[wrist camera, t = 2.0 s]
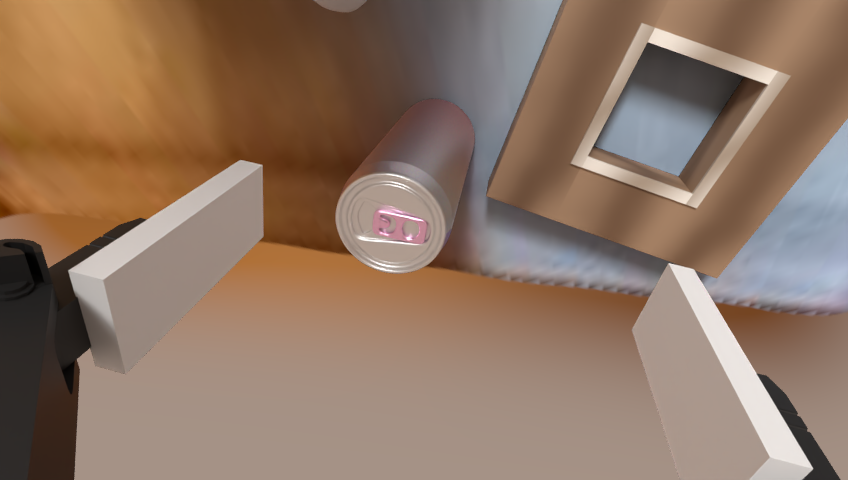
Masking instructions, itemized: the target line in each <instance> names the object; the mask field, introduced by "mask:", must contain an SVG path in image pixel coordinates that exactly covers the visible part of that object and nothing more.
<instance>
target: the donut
mask: <svg viewBox="0 0 848 480" xmlns="http://www.w3.org/2000/svg"><path fill="white" fill-rule="evenodd" d="M313 1H315V2H316V3H318V4H319V5H320V6H322V7H324V8H326V9H329V10H332V11H338V12H352V11H354V10H357V9H358V8H359V7H360V6H362V5H363V4H364V3H365V2H366V1H367V0H313Z"/></svg>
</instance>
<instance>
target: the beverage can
mask: <svg viewBox="0 0 848 480" xmlns="http://www.w3.org/2000/svg"><path fill="white" fill-rule="evenodd" d="M474 144H475V134H474V129H473V126H472V123H471V121H470V119H469V118H468V116H467V115H466V114H465V113H464V111H463V110H462V109H460V108H459V107H458V106H456V105H455V104H453V103H451V102H449V101H446V100H441V99H427V100H423V101H420V102H418V103H416V104H414V105H413V106H411V107H410V108H409V109H408V110H407V111H406V112H405V113H404V114H403V115H402V117H401V118H400V119H399V120H398V121H397V123H396V124H395V125H394V126H393V127H392V128H391V130H390V131H389V132H388V133H387V134H386V135H385V137H384V138H383V139H382V140H381V141H380V143H379V144H378V145H377V146H376V147H375V148H374V150H373V151H372V152H371V153H370V154H369V155H368V157H367V158H366V159H365V160H364V161H363V162H362V164H361V165H360V166H359V167H358V168H357V170H356V171H355V172H354V173H353V174H352V175H351V177H350V178H349V179H348V180H347V182H346V183H345V185H344V187H343V189H342V192H341V195H340V198H339V200H338V203H337V207H336V214H335V219H336V226H337V230H338V233H339V236H340V238H341V240H342V242H343V244H344V245H345V247H346V248H347V249H348V250H349V252H350V253H351V254H352V255H353V256H354V257H355V258H357V259H358V260H359V261H361V262H362V263H364V264H365V265H367V266H369V267H371V268H373V269H376V270H379V271H382V272H387V273H396V274H398V273H409V272H413V271H416V270H419V269H420V268H423V267H425V266H426V265H428V264H429V263H430V262H431V261H433V260H434V259H435V257H436V256H437V255H438V254H439V252H440V250H441V249H442V248H443V247H444V245H445V244H446V242H447V241H448V238H449V236H450V233H451V230H452V226H453V222H454V219H455V215H456V211H457V208H458V204H459V200H460V197H461V193H462V189H463V186H464V182H465V178H466V175H467V171H468V167H469V164H470V160H471V156H472V153H473V149H474Z"/></svg>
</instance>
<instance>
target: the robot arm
mask: <svg viewBox="0 0 848 480" xmlns="http://www.w3.org/2000/svg"><path fill="white" fill-rule="evenodd" d="M262 238H263V165H260V164H256V163H252V162H247V161H243V160H239V161H238V162H236V163H235V164H233V165H232V166H230V167H228V168H227V169H225V170H224V171H222V172H221V173H219V174H218V175H216V176H214V177H213V178H211V179H210V180H208V181H207V182H205V183H204V184H202V185H200V186H199V187H197V188H196V189H194V190H193V191H191V192H190V193H188V194H186V195H185V196H183V197H182V198H180V199H179V200H177V201H176V202H174V203H172V204H171V205H169V206H168V207H166V208H165V209H163V210H162V211H160V212H158V213H157V214H155V215H154V216H152V217H151V218H149V219H148V220H147V219H143V218H139V219H136V220H133V221H130V222H127V223H124V224H121V225H119V226H117V227H115V228H114V229H112V230H110V231H109V232H107V233H105V234H104V235H103V237H99V238H97V239H96V240H94V241H92V242H91V243H90V245H86V246H84V247H83V248H81V249H79V250H78V251H76V252H74V253H73V254H71V255H70V256H68V257H66V258H65V259H63V260H61V261H60V262H58V263H56V264H55V265H53V266H51V267H50V268H48V267H47V264H46V260H45V257H44V254H43V251H42V248H41V246H40V245H39V244H37V243H35V242H34V241H30V240H24V239H4V240H0V480H74V472H75V452H76V432H77V431H76V430H77V412H78V391H79V373H80V369H79V366H78V363H77V358H79V357H80V356H81V355H82V354H83V353H84V352H86V351H87V350H88V349H89V348H90V349H91V352H92V356H93V359H94V363H95V366H98V367H101V368H105V369H108V370H112V371H115V372H119V373H123V374H127V373H128V372H129V371H130V370H131V369H132V368H133V367H134V366H135V365H136V364H137V363H138V362H139V361H140V360H141V358H143V357H144V356H145V355H146V354H147V353H148V352H149V351H150V350H151V349H152V348H153V347H154V346H155V344H157V342H159V341H160V340H161V339H162V338H163V337H164V336H165V335H166V334H167V333H168V332H169V331H170V330H171V329H172V328H173V327H174V326H175V325H176V324H177V323H178V321H180V320H181V318H183V317H184V316H185V315H186V314H187V313H188V312H189V311H190V310H191V309H192V308H193V307H194V306H195V305H196V303H197V302H199V300H201V299H202V298H203V297H204V296H205V295H206V293H208V292H209V291H210V290H211V288H213V287H214V286H215V285H216V284H217V283H218V282H219V281H220V280H221V279H222V278H223V277H224V275H225V274H227V273H228V272H229V270H231V269H232V268H233V267H234V266H235V265H236V264H237V263H238V262H239V261H240V260H241V259H242V258H243V257H244V256H245V254H247V253H248V252H249V251H250V250H251V249H252V248H253V247H254V246H255V245H256V244H257V243H258V242H259V241H260V240H261V239H262ZM632 332H633V335H634V338H635V341H636V344H637V348H638V351H639V354H640V357H641V360H642V363H643V366H644V370H645V372H646V376H647V379H648V382H649V385H650V388H651V392H652V395H653V398H654V401H655V404H656V407H657V410H658V413H659V417H660V420H661V423H662V426H663V429H664V432H665V435H666V438H667V442H668V445H669V448H670V451H671V454H672V457H673V461H674V463H675V467H676V470H677V473H678V476H679V479H680V480H840V478H839V477H838V475H837V474H836V472H835V470H834V469H833V467H832V466H831V464H830V463H829V461H828V459H827V458H826V456H825V455H824V453H823V452H822V450H821V449H820V447H819V446H818V444H817V442H816V441H815V440H814V438H813V436H812V435H811V433H810V432H807V427H806V425H805V424H804V422H803V420H802V419H801V418H800V417H799V416H797V414H798V413H797V411H796V409H795V408H794V406H793V405H792V403H791V402H790V400H789V399H788V397H787V395H786V394H785V393H784V392H783V391H782V390H781V389H780V388H779V387H778V386H777V385H776V384H775V383H774V382H773V381H772V380H770V379H769V378H768V377H767V376H765V375H761V374H757V373H756V372H755V371H754V369H753V367H752V366H751V364H750V362H749V361H748V359H747V357H746V356H745V354H744V352H743V351H742V349H741V348H740V346H739V344H738V342H737V341H736V339H735V337H734V336H733V334H732V332H731V331H730V329H729V327H728V326H727V324H726V322H725V321H724V319H723V317H722V316H721V314H720V312H719V311H718V309H717V307H716V306H715V304H714V302H713V301H712V299H711V297H710V295H709V294H708V292H707V290H706V289H705V287H704V285H703V284H702V282H701V280H700V279H699V277H698V275H697V274H696V272H695V270H694V269H691V268H687V267H683V266H679V265H674V264H670V263H668V265H667V267H666V268H665V270H664V272H663V274H662V276H661V277H660V279H659V281H658V283H657V285H656V287H655V288H654V290H653V292H652V294H651V296H650V298H649V299H648V301H647V303H646V305H645V307H644V308H643V310H642V312H641V314H640V316H639V318H638V319H637V321H636V323H635V325H634V327H633V328H632Z"/></svg>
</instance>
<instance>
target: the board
mask: <svg viewBox="0 0 848 480" xmlns="http://www.w3.org/2000/svg"><path fill="white" fill-rule="evenodd" d="M647 42H649V43H652V44H655V45H657V46H660V47H663V48H666V49H669V50H672V51H674V52H677V53H680V54H683V55H686V56H689V57H691V58H694V59H697V60H700V61H703V62H705V63H708V64H711V65H714V66H717V67H720V68H722V69H725V70H728V71H731V72H734V73H737V74H739V75H742V76H744V78H743V79H742V81H741V82H740V84H739V86H738V87H737V89H736V90H735V92H734V93H733V95H732V96H731V98H730V99H729V101H728V102H727V104H726V105H725V107H724V108H723V110H722V111H721V113H720V114H719V116H718V117H717V119H716V121H715V122H714V124H713V125H712V127H711V128H710V130H709V131H708V133H707V134H706V136H705V137H704V139H703V140H702V142H701V143H700V145H699V146H698V148H697V149H696V151H695V152H694V154H693V155H692V157H691V159H690V160H689V162H688V163H687V165H686V166H685V168H684V169H683V171H682V172H681V174H680V175H679V177H678V176H675V175H673V174H670V173H667V172H664V171H661V170H659V169H656V168H653V167H650V166H647V165H644V164H642V163H639V162H636V161H633V160H630V159H628V158H625V157H622V156H619V155H616V154H614V153H611V152H608V151H605V150H602V149H599V148H597V147H594V146H593V145H594V143H595V141H596V140H597V138H598V136H599V134H600V132H601V130H602V128H603V126H604V124H605V122H606V120H607V119H608V117H609V115H610V113H611V111H612V109H613V107H614V105H615V103H616V101H617V100H618V98H619V96H620V94H621V92H622V90H623V88H624V86H625V84H626V82H627V80H628V79H629V77H630V75H631V73H632V71H633V69H634V67H635V65H636V63H637V61H638V59H639V58H640V56H641V54H642V52H643V50H644V48H645V46H646V44H647ZM847 118H848V0H563V1H562V4H561V6H560V8H559V11H558V13H557V16H556V18H555V21H554V23H553V25H552V28H551V30H550V33H549V35H548V38H547V40H546V42H545V45H544V47H543V50H542V52H541V55H540V57H539V59H538V62H537V64H536V67H535V69H534V72H533V74H532V76H531V79H530V81H529V84H528V86H527V89H526V91H525V93H524V96H523V98H522V101H521V103H520V106H519V108H518V110H517V113H516V115H515V118H514V120H513V123H512V125H511V127H510V130H509V132H508V135H507V137H506V140H505V142H504V145H503V147H502V149H501V152H500V154H499V157H498V159H497V162H496V164H495V166H494V169H493V171H492V174H491V176H490V179H489V182H488V188H487V194H486V196H487V197H490V198H493V199H496V200H499V201H501V202H504V203H507V204H510V205H513V206H515V207H518V208H521V209H524V210H527V211H529V212H532V213H535V214H538V215H541V216H543V217H546V218H549V219H552V220H555V221H557V222H560V223H563V224H566V225H569V226H571V227H574V228H577V229H580V230H583V231H585V232H588V233H591V234H594V235H597V236H599V237H602V238H605V239H608V240H611V241H613V242H616V243H619V244H622V245H625V246H628V247H630V248H633V249H636V250H639V251H642V252H644V253H647V254H650V255H653V256H656V257H658V258H661V259H664V260H667V261H670V262H672V263H675V264H678V265H681V266H684V267H687V268H691V269H694V270H695V271H698V272H700V273H703V274H706V275H709V276H712V277H714V278H718V277H719V275H720V274H721V273H722V272H723V270H724V269H725V268H726V267H727V265H728V264H729V263H730V262H731V261H732V259H733V258H734V257H735V256H736V254H737V253H738V252H739V251H740V250H741V248H742V247H743V246H744V245H745V243H746V242H747V241H748V240H749V239H750V237H751V236H752V235H753V234H754V232H755V231H756V230H757V229H758V228H759V226H760V225H761V224H762V223H763V221H764V220H765V219H766V218H767V216H768V215H769V214H770V213H771V212H772V210H773V209H774V208H775V207H776V205H777V204H778V203H779V202H780V201H781V199H782V198H783V197H784V196H785V194H786V193H787V192H788V191H789V190H790V188H791V187H792V186H793V185H794V183H795V182H796V181H797V180H798V179H799V177H800V176H801V175H802V174H803V172H804V171H805V170H806V169H807V167H808V166H809V165H810V164H811V163H812V161H813V160H814V159H815V158H816V156H817V155H818V154H819V153H820V152H821V150H822V149H823V148H824V147H825V145H826V144H827V143H828V142H829V141H830V139H831V138H832V137H833V136H834V134H835V133H836V132H837V131H838V130H839V128H840V127H841V126H842V125H843V123H844V122H845V121H846V120H847Z"/></svg>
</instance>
